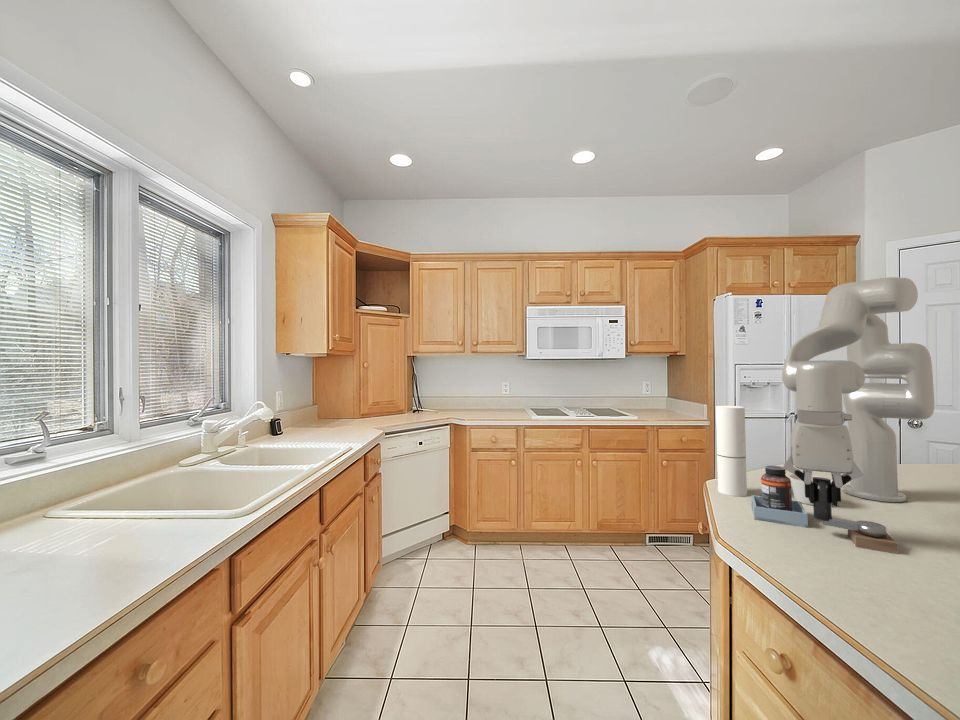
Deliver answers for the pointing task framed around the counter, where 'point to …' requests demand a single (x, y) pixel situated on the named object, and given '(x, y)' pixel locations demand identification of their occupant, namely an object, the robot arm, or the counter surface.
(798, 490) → the white bowl
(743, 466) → the cylindrical container
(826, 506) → the crank
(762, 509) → the tray
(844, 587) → the counter surface
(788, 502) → the supplement bottle
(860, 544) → the crank base
